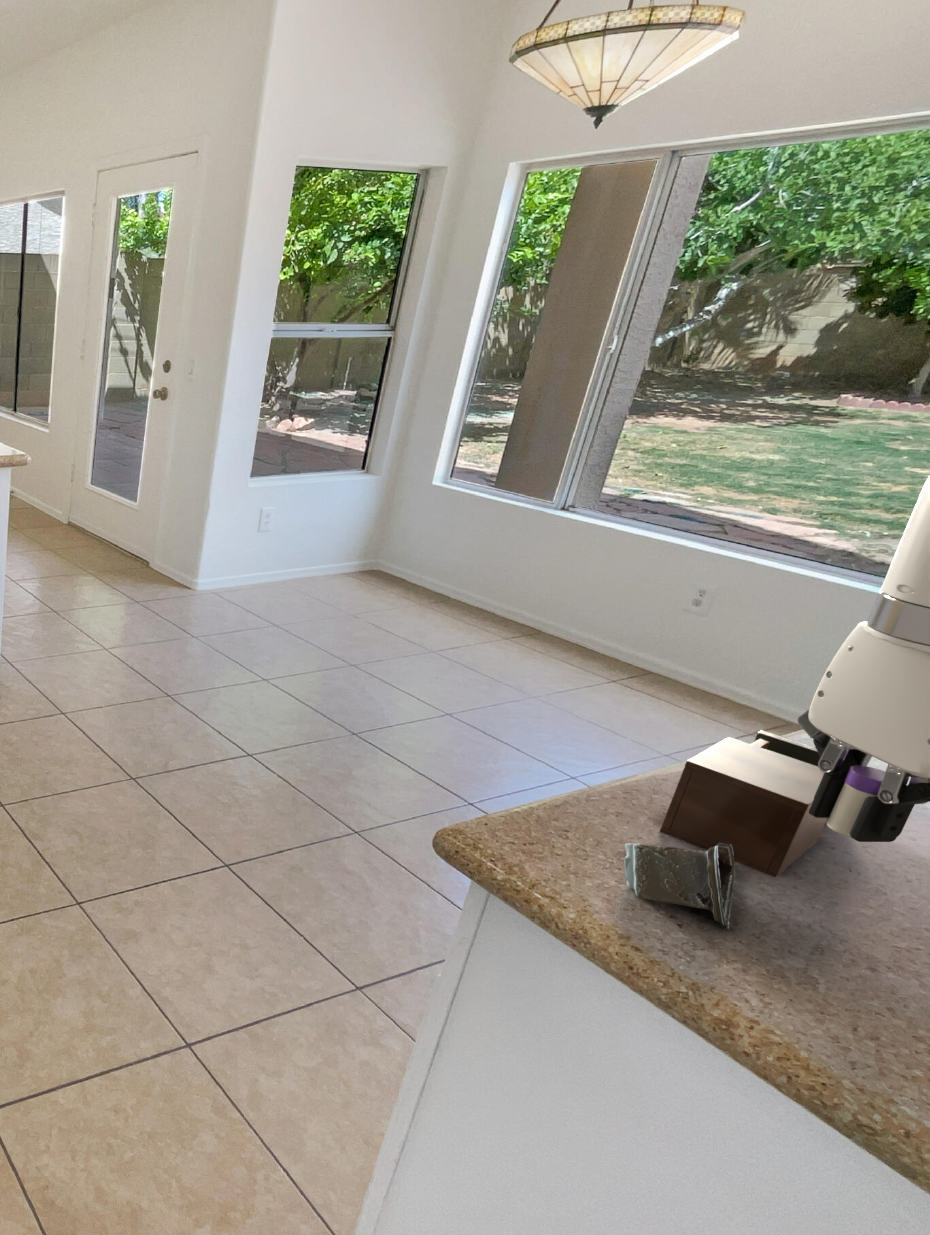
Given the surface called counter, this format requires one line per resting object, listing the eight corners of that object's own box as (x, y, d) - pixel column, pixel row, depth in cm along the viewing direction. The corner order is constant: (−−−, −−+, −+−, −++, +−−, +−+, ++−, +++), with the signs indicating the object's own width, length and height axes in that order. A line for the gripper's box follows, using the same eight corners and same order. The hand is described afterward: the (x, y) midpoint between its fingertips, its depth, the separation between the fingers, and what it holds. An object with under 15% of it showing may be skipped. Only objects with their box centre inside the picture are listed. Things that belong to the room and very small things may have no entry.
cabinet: (701, 805, 91) (729, 736, 88) (813, 848, 84) (847, 776, 81) (659, 832, 86) (686, 760, 83) (774, 881, 79) (808, 804, 76)
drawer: (754, 773, 96) (776, 721, 94) (849, 806, 90) (875, 751, 87) (704, 805, 90) (726, 750, 87) (802, 843, 83) (829, 785, 81)
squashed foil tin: (638, 841, 85) (613, 795, 78) (736, 851, 79) (718, 803, 73) (637, 936, 81) (611, 897, 74) (740, 953, 76) (721, 913, 69)
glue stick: (853, 822, 72) (878, 766, 70) (881, 841, 69) (908, 783, 67) (816, 819, 72) (841, 763, 70) (843, 838, 70) (869, 780, 68)
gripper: (1136, 667, 57) (1012, 891, 63) (877, 590, 72) (798, 776, 78) (1025, 667, 57) (912, 891, 63) (789, 590, 72) (718, 776, 78)
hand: (850, 826), depth 71 cm, fingers closed on glue stick, 2 cm apart
